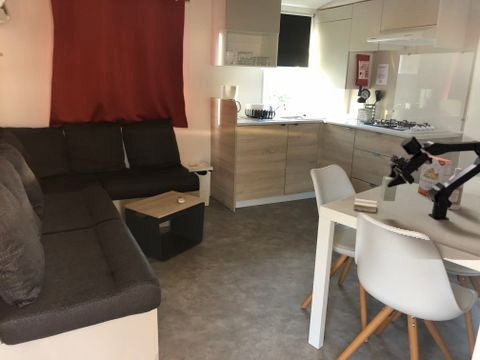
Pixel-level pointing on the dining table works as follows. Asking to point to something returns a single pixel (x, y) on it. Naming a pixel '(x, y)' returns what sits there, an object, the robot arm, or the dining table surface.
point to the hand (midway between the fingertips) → (386, 185)
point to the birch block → (365, 205)
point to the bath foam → (456, 193)
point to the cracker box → (434, 174)
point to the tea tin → (388, 190)
